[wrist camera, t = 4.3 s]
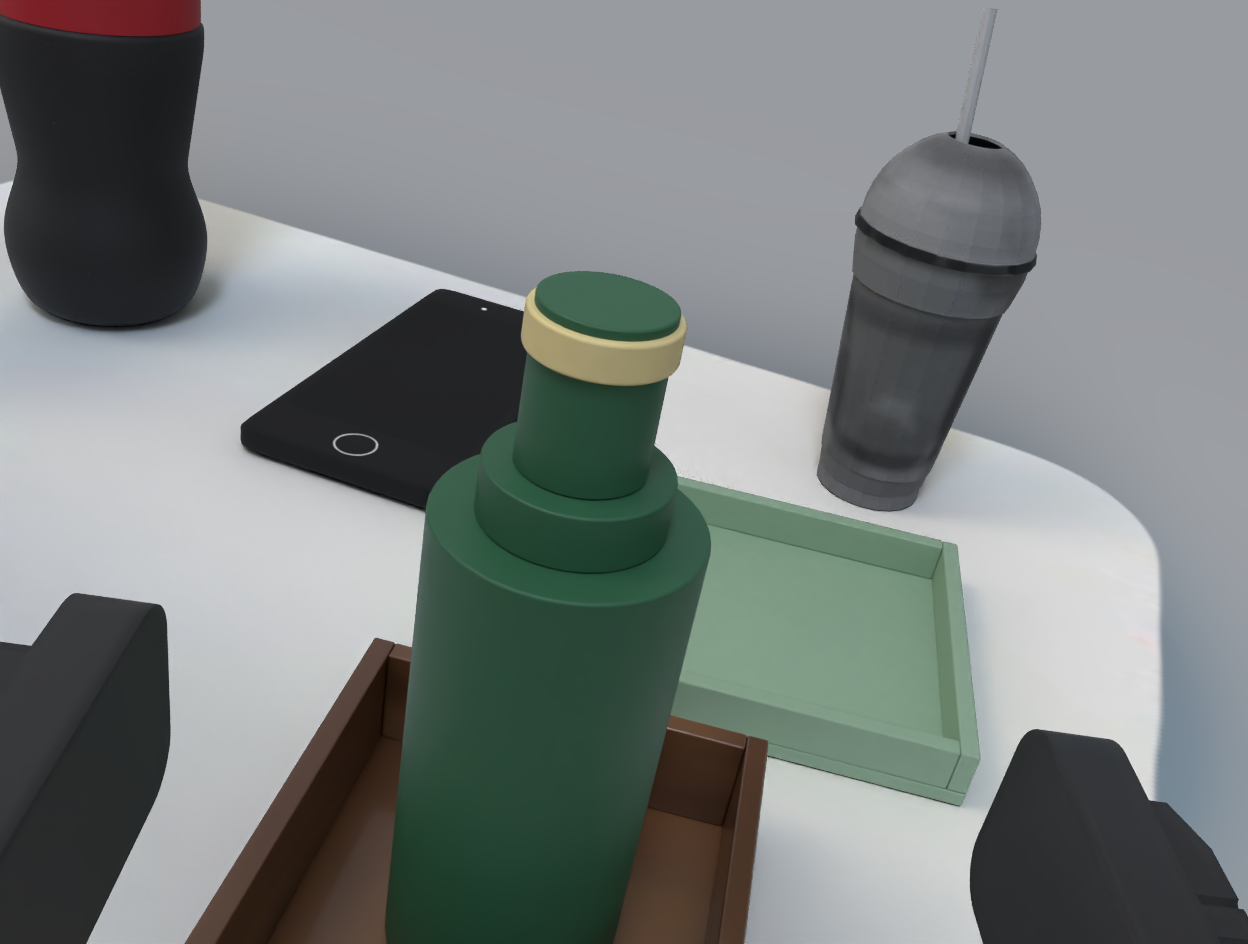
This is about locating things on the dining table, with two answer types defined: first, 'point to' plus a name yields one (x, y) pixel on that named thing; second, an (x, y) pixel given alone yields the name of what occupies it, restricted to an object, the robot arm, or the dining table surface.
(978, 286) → the beverage cup
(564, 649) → the green bottle
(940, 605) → the tray
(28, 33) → the cola bottle
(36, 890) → the robot arm
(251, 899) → the crate
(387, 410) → the cell phone
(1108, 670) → the dining table surface
